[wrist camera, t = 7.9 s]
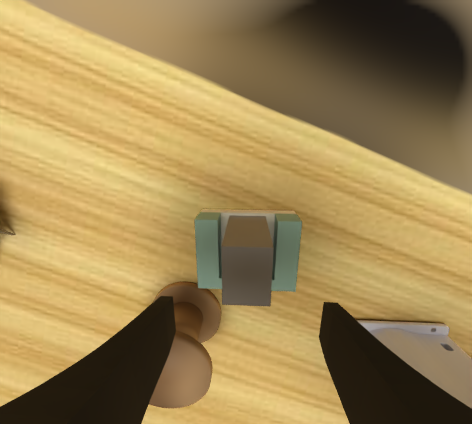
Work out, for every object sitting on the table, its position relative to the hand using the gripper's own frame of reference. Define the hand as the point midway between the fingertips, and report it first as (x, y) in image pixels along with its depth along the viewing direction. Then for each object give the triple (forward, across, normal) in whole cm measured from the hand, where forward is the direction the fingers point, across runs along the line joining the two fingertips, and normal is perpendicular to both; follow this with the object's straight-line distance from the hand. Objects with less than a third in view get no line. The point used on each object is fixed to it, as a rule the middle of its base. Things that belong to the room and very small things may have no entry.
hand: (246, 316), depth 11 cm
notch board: (+10, 0, 0) cm, 10 cm away
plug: (+9, 0, 0) cm, 9 cm away
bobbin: (+10, +6, +8) cm, 14 cm away
